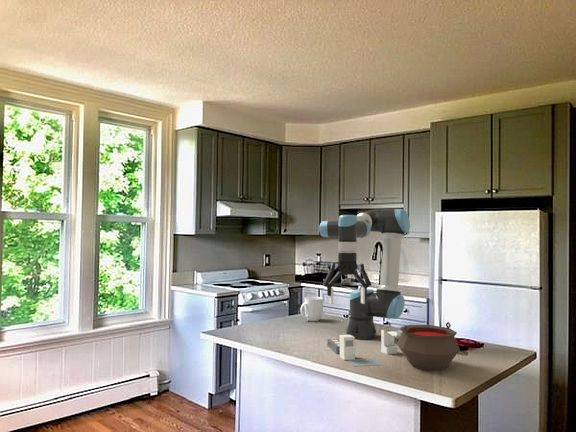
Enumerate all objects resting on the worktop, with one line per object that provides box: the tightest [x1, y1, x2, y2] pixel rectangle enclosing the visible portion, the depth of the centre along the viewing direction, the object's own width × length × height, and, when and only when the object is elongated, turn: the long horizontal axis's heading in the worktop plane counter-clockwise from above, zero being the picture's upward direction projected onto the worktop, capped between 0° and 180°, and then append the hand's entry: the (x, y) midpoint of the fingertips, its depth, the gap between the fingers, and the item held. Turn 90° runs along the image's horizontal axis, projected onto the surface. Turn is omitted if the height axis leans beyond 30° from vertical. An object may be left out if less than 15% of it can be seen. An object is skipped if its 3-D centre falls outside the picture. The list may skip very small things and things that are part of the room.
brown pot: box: [396, 321, 461, 371], centre depth 179 cm, size 24×24×16 cm
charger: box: [339, 334, 356, 361], centre depth 187 cm, size 4×7×9 cm, turn 11°
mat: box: [346, 358, 384, 367], centre depth 180 cm, size 12×9×1 cm
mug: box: [299, 296, 324, 322], centre depth 267 cm, size 15×11×13 cm
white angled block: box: [380, 329, 398, 355], centre depth 196 cm, size 4×10×9 cm, turn 118°
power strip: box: [326, 337, 340, 355], centre depth 203 cm, size 5×20×4 cm, turn 11°
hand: (347, 303), depth 187 cm, fingers open, 13 cm apart
